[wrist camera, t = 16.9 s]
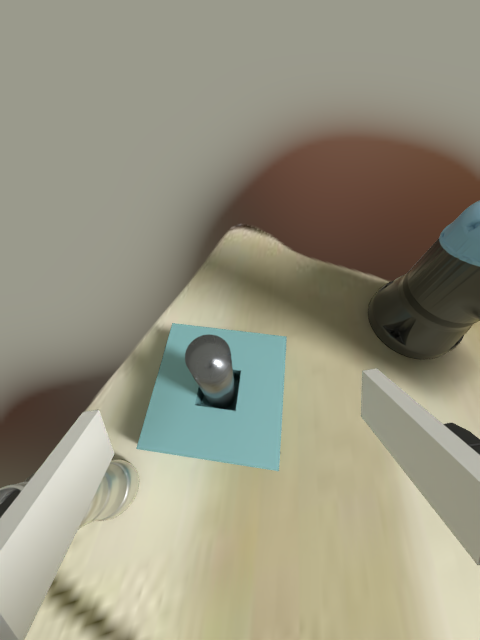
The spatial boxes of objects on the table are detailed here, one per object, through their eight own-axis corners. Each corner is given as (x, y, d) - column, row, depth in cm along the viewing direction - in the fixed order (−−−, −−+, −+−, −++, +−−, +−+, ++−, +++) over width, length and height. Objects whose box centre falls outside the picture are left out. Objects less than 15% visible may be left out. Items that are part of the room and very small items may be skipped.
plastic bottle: (153, 476, 37) (69, 494, 19) (120, 528, 34) (-15, 605, 16) (119, 449, 38) (13, 443, 21) (85, 497, 36) (-72, 537, 18)
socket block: (281, 350, 45) (286, 336, 40) (273, 469, 37) (278, 471, 32) (180, 338, 46) (172, 323, 41) (151, 450, 38) (136, 448, 33)
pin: (237, 382, 42) (234, 337, 26) (233, 411, 40) (227, 381, 24) (210, 379, 42) (190, 331, 26) (204, 407, 40) (179, 374, 24)
